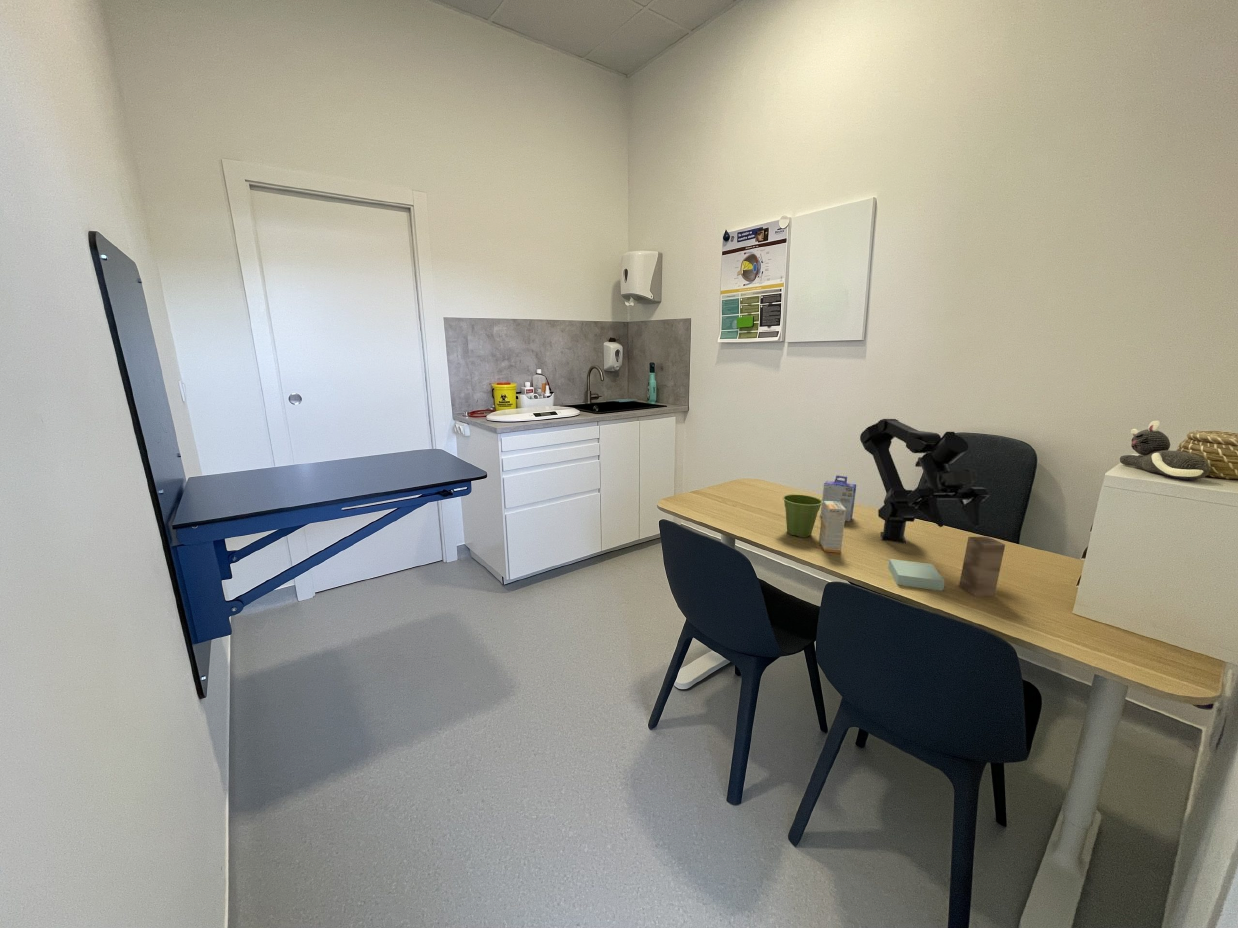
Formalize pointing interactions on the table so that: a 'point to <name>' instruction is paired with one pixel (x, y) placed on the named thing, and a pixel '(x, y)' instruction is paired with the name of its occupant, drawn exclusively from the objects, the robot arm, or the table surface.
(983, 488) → the robot arm
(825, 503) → the supplement box
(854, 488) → the ink cartridge box
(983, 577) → the walnut block
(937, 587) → the sage green base block
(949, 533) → the table surface
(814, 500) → the plant pot
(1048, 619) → the table surface
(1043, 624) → the table surface
